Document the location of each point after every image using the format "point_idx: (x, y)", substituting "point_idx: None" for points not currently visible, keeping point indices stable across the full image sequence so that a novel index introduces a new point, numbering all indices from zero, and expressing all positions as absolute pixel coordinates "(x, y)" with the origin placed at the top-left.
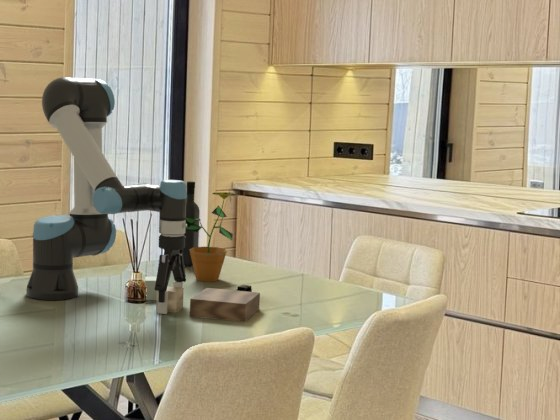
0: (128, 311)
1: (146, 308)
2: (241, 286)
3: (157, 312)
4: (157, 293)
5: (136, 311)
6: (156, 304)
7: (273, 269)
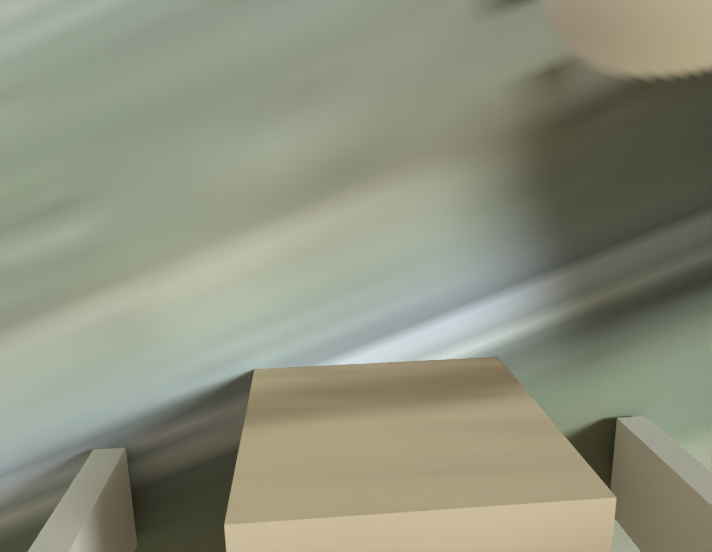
0: (28, 80)
1: (298, 228)
2: None
3: (91, 455)
4: (230, 501)
5: (85, 178)
6: (249, 401)
7: None
